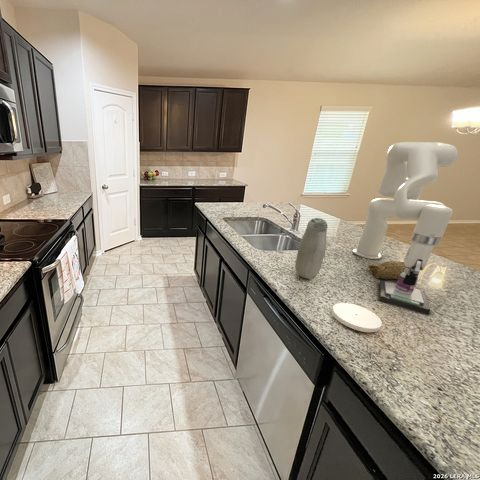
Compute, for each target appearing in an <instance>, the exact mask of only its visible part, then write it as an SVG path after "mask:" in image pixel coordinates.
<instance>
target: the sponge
mask: <svg viewBox="0 0 480 480" xmlns="http://www.w3.org/2000/svg"><path fill="white" fill-rule="evenodd" d="M405 268H406V266H405V263H404V261H400V260H389V261H384V262H382V263H377V264H369V265H368V271H369V272H370V273H371V274H372V275H374V276H375V278H377V279H381V280H382V279H383V280H385V279H386V280H390V279H395V280H396V279H397V280H398V278H399V276H400V274H401V273H402V272H403V271H404V269H405Z"/></svg>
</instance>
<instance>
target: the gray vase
mask: <svg viewBox="0 0 480 480" xmlns="http://www.w3.org/2000/svg"><path fill="white" fill-rule="evenodd" d="M327 233H328V223H327V221H326V220H325V219H323V218H320V217H314V218H311V219H310V220H309V221H308V222H307V225H306V227H305V231H304V233H303V234H302V237H301V238H300V241H299V244H298V249H297V253H296V259H295V264H294V265H295V266H294V269H295V273H296V274H297V275H298V276H299V277H301V278H304V279H314V278H315V277H317V276H318V274H319V272H320V271H321V268H322V264H323V260H324V257H325V254H326V250H327V235H328V234H327Z"/></svg>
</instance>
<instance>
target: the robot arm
mask: <svg viewBox="0 0 480 480" xmlns="http://www.w3.org/2000/svg"><path fill="white" fill-rule="evenodd" d="M458 156H459V151H458V149H457V147H456V146H455V145H453V144H448V143H445V142H439V141H438V142H437V141H436V142H435V141H401V142H395V143H393V144H392V145H391V146H389V149H388V150H387V153H386V167H385V170H384V173H383V175H382V178H381V182H380V183H379V187H378V194H379V195H380V196H382V197H385V198H375V199H372V200H370V202H369V204H368V208H367V209H368V210H367V215H366V220H365V223H364V225H363V228H362V233H361V236H360V238H359V242H358V245H357V248H354V249H352V252H353V254H354V255H355V256H358V257H361V258H364V259H369V260H380V259H382V254H381V253H380V250H381V248H382V245H383V242H384V239H385V237H386V234H387V231H388V228H389V224H388V222H387V221H386V219H396V220H397V219H398V220H410V221H411V220H412V221H416V224H415V227H414V229H413V231H412V234H411V236H410V240H409V241H410V242H411V243H410V245H409V246H408V250H407V251H406V253H405V256H404V258H403V262H404V263H405V266H406V268H409V271H408V274H406V276H405V278H404V281H403V284H407V285H411V286H414V285H415V282H416V280H417V278H418V279H419V275H420V271H424V270H425V268H426V266H427V264H428V261H429V259H430V257H431V254H432V253H433V249H434V247H438V246H439V245H440V243H441V241H442V238H443V236H444V234H445V232H446V230H447V227H448V225H449V223H450V220H451V218H452V216H453V214H454V210H453V209H452V208H451V207H448V206H446V205H445V204H444V203H443V202H439V201H431V200H419V199H420V197H421V195H422V193H423V190H424V187H426V186H427V187H428V186H430V185H432V184H434V183H435V182H437V181H438V179H439V168H448V167H451V166H453V164H455V162H456V161H457V159H458ZM412 269H413V270H414V271H411V270H412ZM404 270H405V269H404ZM403 272H404V271H403Z"/></svg>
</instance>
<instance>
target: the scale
mask: <svg viewBox="0 0 480 480" xmlns="http://www.w3.org/2000/svg"><path fill="white" fill-rule="evenodd" d="M395 286H396V283H395V282H394V283H393V282H390V281H386V280H382V279H381V280H379V282H378V301H379V302H382V303H386V304H389V305H392V306H396V307H399V308H402V309H407V310H409V311H413V312H417V313H420V314H424V315H426V316H428V315H429V314H430V312H431V308H430V305H429V301H428V299H427V296H426V293H425V290H421V289H419V288H418V289H417V288H414V290H413V292H412V294H403V293H400V292H398V291H396V290H395Z"/></svg>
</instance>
